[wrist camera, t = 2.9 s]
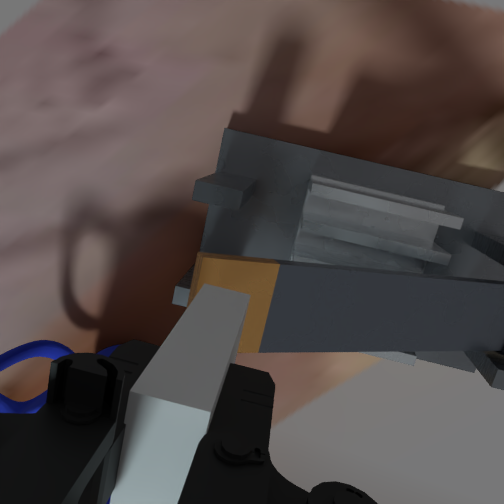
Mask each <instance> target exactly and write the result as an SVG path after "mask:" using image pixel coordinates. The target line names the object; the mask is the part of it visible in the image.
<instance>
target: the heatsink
mask: <svg viewBox="0 0 504 504" xmlns="http://www.w3.org/2000/svg"><path fill="white" fill-rule="evenodd" d="M192 200H195V201H199V202H203V203H207V204H209V208H208V212H207V217H206V222H205V227H204V232H203V237H202V242H201V247H200V252H205V253H216V254H226V255H237V256H247V257H257V258H268V259H278V260H288V261H299V262H309V263H320V264H330V265H340V266H351V267H361V268H372V269H382V270H392V271H403V272H413V273H424V274H434V275H444V276H455V277H465V278H476V279H486V280H496V281H504V192H499V191H495V190H491V189H487V188H482V187H478V186H474V185H469V184H465V183H461V182H456V181H452V180H448V179H443V178H439V177H435V176H430V175H426V174H422V173H417V172H413V171H409V170H404V169H400V168H396V167H392V166H387V165H383V164H379V163H374V162H370V161H366V160H361V159H357V158H353V157H348V156H344V155H340V154H335V153H331V152H327V151H322V150H318V149H314V148H309V147H305V146H301V145H297V144H292V143H288V142H284V141H279V140H275V139H271V138H266V137H262V136H258V135H253V134H249V133H245V132H240V131H236V130H232V129H227V128H224V133H223V138H222V143H221V148H220V153H219V158H218V163H217V168H216V173H214V174H211V175H208V176H206V177H203V178H200V179H197V180H196V182H195V187H194V192H193V197H192ZM194 268H195V264H194V265H193V266H192V267H191V268H190V270H189V271H188V272H187V273H186V274H185V275H184V276H183V278H182V279H181V280H180V281H179V282H178V283H177V285H176V286H175V291H174V296H173V301H172V304H176V305H180V306H184V307H187V303H188V298H189V293H190V288H191V283H192V278H193V273H194ZM360 353H364V354H368V355H372V356H376V357H380V358H384V359H388V360H392V361H397V362H400V363H404V364H408V365H412V366H414V363H415V360H416V359H420V360H425V361H428V362H433V363H437V364H441V365H445V366H449V367H453V368H457V369H461V370H465V371H469V372H473V373H474V372H475V369H476V368H477V370H478V371H479V372H480V373H481V375H482V376H483V377H484V378H485V379H486V381H487V382H488V383H489V385H490V386H491V387H493V388H497V389H501V390H504V355H501V354H499V353H497V352H495V351H406V352H360Z"/></svg>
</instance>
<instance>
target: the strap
mask: <svg viewBox="0 0 504 504" xmlns="http://www.w3.org/2000/svg"><path fill="white" fill-rule="evenodd" d="M204 283H205V284H209V285H213V286H217V287H221V288H225V289H229V290H233V291H237V292H241V293H245V294H249V295H251V296H250V300H249V304H248V309H247V313H246V317H245V321H244V325H243V330H242V334H241V338H240V342H239V347H238V351H237V353H267V352H406V351H495V352H497V353H499V354H501V355H504V281H496V280H486V279H476V278H465V277H455V276H444V275H434V274H424V273H413V272H403V271H392V270H382V269H372V268H361V267H351V266H340V265H330V264H320V263H309V262H299V261H288V260H278V259H268V258H257V257H247V256H237V255H226V254H216V253H205V252H198V253H197V258H196V263H195V268H194V273H193V278H192V283H191V288H190V293H189V298H188V303H187V308H188V306H189V305H190V304H191V302H192V301H193V299H194V298H195V296H196V295H197V293H198V292H199V291H200V289H201V288H202V286H203V285H204ZM187 308H186V309H187Z"/></svg>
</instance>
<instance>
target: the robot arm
mask: <svg viewBox="0 0 504 504" xmlns="http://www.w3.org/2000/svg"><path fill="white" fill-rule="evenodd" d="M250 296H251V295H249V294H245V293H241V292H237V291H233V290H229V289H225V288H221V287H217V286H213V285H209V284H205V283H204V285H203V286H202V288H201V289H200V291H199V292H198V293H197V295H196V296H195V298H194V299H193V301H192V302H191V304H190V305H189V306H188V308H187V309H186V311H185V312H184V314H183V315H182V316H181V318H180V319H179V321H178V322H177V324H176V325H175V327H174V328H173V329H172V331H171V332H170V334H169V335H168V337H167V338H166V339H165V341H164V342H163V344H162V345H161V346H157V345H154V344H150V343H146V342H142V341H138V340H134V339H133V340H131V341H129V342H126V343H124V344H122V345H119V346H118V347H117V348H116V349H115V350H114V351H113V352H112V353H111V354H110V356H109V357H107V356H104V355H100V354H94V353H73V354H69V355H65V356H61V357H59V358H57V359H56V360H54V361H52V362H51V367H50V375H49V383H48V391H47V398H46V403H45V404H44V405H43V406H42V407H41V408H40V409H39V410H38V411H37V412H36V413H23V414H19V413H0V504H106V503H107V501H108V500H109V498H110V496H111V499H110V504H377V502H375V501H374V500H373V499H372V498H371V497H369V496H368V495H367V494H366V493H365V492H363V491H361V490H359V489H357V488H355V487H353V486H351V485H348V484H344V483H340V482H323V483H320V484H319V485H317V486H315V487H313V488H312V491H311V492H310V493H308V492H307V491H305V490H303V489H301V488H300V487H298V486H296V485H294V484H293V483H291V482H289V481H288V480H287V479H285V478H284V477H283V476H282V475H281V474H280V473H279V472H278V471H277V470H276V468H275V467H274V466H273V464H272V462H271V460H270V454H269V451H268V447H269V438H270V429H271V420H272V411H273V410H272V409H273V402H274V393H275V383H274V382H273V380H272V378H271V376H270V374H269V373H268V372H264V371H261V370H257V369H253V368H249V367H245V366H241V365H237V364H234V363H235V359H236V355H237V351H238V347H239V342H240V338H241V334H242V330H243V325H244V321H245V317H246V313H247V309H248V304H249V300H250Z"/></svg>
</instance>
